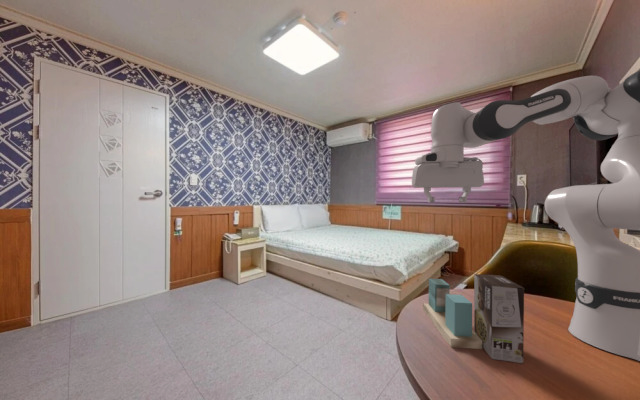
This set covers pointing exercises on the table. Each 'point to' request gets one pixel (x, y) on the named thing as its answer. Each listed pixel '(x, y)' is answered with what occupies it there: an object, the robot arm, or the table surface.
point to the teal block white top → (458, 315)
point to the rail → (437, 316)
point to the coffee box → (499, 317)
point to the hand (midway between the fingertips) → (446, 202)
